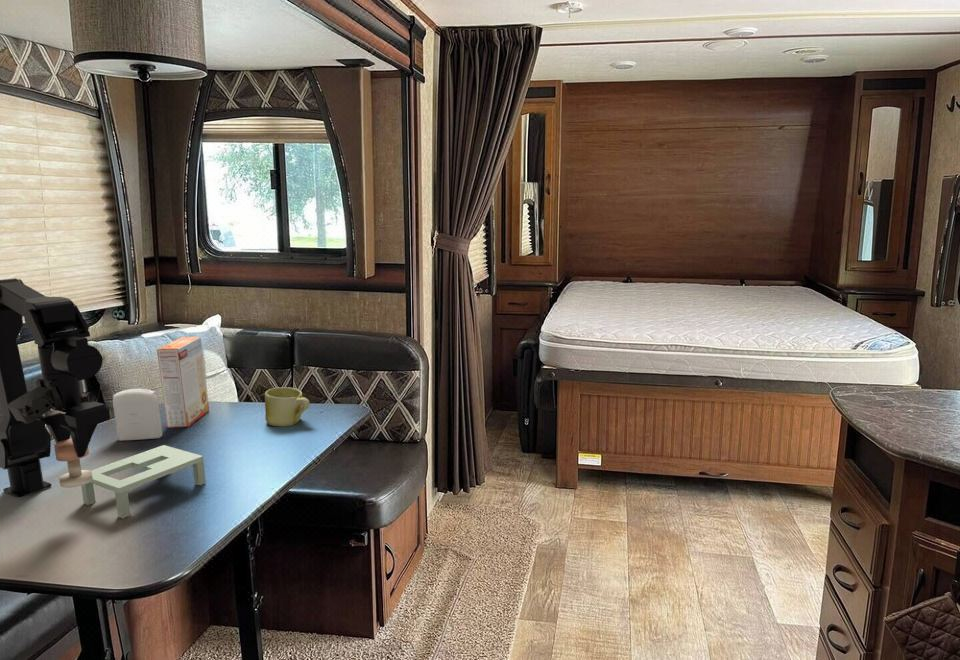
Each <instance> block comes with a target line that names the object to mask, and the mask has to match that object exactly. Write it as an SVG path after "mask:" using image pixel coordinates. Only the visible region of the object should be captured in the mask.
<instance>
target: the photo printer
mask: <svg viewBox="0 0 960 660" xmlns="http://www.w3.org/2000/svg"><path fill="white" fill-rule="evenodd" d="M112 407H113V408H112V409H113V415H114V421H115V427H116V434H117V435H116V436H117V440H118V441H119V442H120V441H122V442H123V441H137V440H150V439H151V440H153V439H160V438H161V437H162V436H163V429H162V428H163V427H162V420H161V415H160V413H161V412H160V406H159V398H158V394H157V392H156V391H154V390H152V389H147V388H130V389H126V390H121V391H118V392H117V393H115V394H114V395H113V397H112Z"/></svg>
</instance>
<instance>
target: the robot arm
mask: <svg viewBox="0 0 960 660" xmlns="http://www.w3.org/2000/svg"><path fill="white" fill-rule="evenodd" d="M23 321H24V322H23ZM24 323H25V328H27V330H28V331H29V333H30V334H31V336H32V337H33V338H34V344H35V345H37V353H38V358H39V359H38V360H39V364H40V371H41V377H37V378H36V379H37V380H36V381H35V384H36V388H33V389H32V390H29V391H28V387H27V382H26V378H25V372H24V368H23V362H22V360H21V354H20V349H19V345H18V338H19V336H20V333H21V331H22V329H23V326H24ZM89 329H90V325H89V324H88V322H87V321H86V320H85V318H84V315H83V314H82V313H81V311H80V309H79V308H78V305H77V304H76V303H74V302H73V300H72V299H70V298H68V297H62V296H46V295H44V294H42V293H41V292H39V291H37V290H36V289H33V288H32V287H30V286H29V285H26V284H24V281H23V280H22V279H21V278H20V279H17V278H8V279H6V278H5V279H0V403H1V407H2V412H3V413H2V414H3V417H2V419H1V421H0V468H1V469H3V470H7V476H8V480H9V481H8V482H9V486H8V487H4V488H3V492H4V493H7V494H9V495H11V496H14V497H15V498H22V497H24V496H28V495H31V494H34V493H37V492H39V491H42V490H45V489H49V488H50V487H52V486H53V485H52V483H50V482H48V481H45V480H44V477H43V470H42V465H41V459H44V458H49V457H51V451H52V450H51V449H52V447H51V444H52V438H53V440H54V441H55V444H56V443H58V442H60V441H63V440H66V439H71V438H72V441H73V445H74V448H75V452H76V454H77V457H83V456H84V455H85V453H86V450H87V448H88V449H89V445H90V442H91V439H92V437H93V435H94V433H95V430H96V428H97V426H98V425H99V423H103V422H105V421H109V420H112V411H111V407H110V406H109V405H107V404H106V403H101V402H97V401H90V402H89V396H88V395H86V394H83V389H82V382H81V381H84V380H86V379H90V378H92V377H94V376H95V375H97V374H98V373H99V371H100V370H101V368H102V367H103V355H102V354H101V352H100V351H99V350H98V348H97V347H95V346H93V345H90V344H89V343H88V342H89V340H88V338H89V337H91V334H90V331H89ZM87 402H88V403H87ZM46 427H47V428H46ZM49 432H50V433H49ZM83 458H84V457H83Z"/></svg>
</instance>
